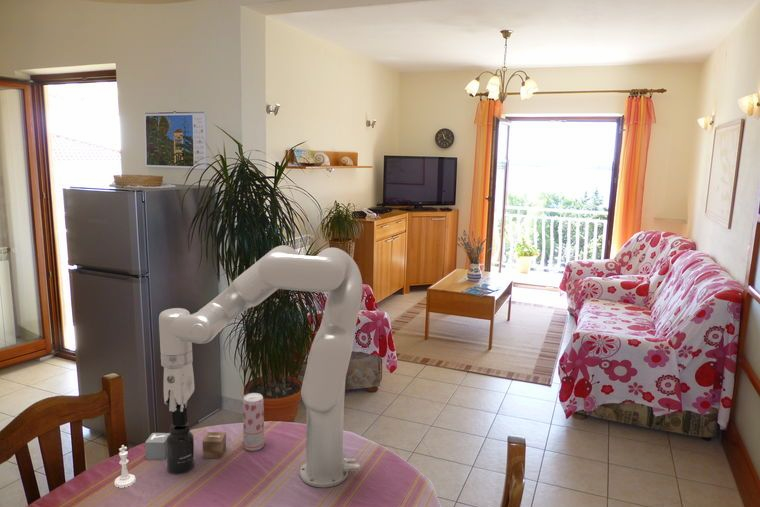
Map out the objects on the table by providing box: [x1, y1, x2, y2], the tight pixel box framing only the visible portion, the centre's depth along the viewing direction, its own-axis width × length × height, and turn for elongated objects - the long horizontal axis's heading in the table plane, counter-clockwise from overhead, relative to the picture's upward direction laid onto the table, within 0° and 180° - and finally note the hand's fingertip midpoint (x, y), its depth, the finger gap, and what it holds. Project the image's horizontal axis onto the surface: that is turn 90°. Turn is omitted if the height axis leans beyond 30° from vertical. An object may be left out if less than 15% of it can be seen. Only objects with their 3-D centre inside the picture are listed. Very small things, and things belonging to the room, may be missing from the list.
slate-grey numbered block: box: [144, 432, 170, 460], centre depth 150 cm, size 5×5×5 cm
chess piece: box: [114, 444, 137, 489], centre depth 137 cm, size 5×5×10 cm
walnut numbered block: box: [202, 431, 227, 459], centre depth 152 cm, size 5×5×5 cm
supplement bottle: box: [166, 421, 195, 475], centre depth 144 cm, size 7×7×12 cm
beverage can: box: [242, 392, 265, 452], centre depth 155 cm, size 6×6×15 cm
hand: (180, 423), depth 143 cm, fingers closed
